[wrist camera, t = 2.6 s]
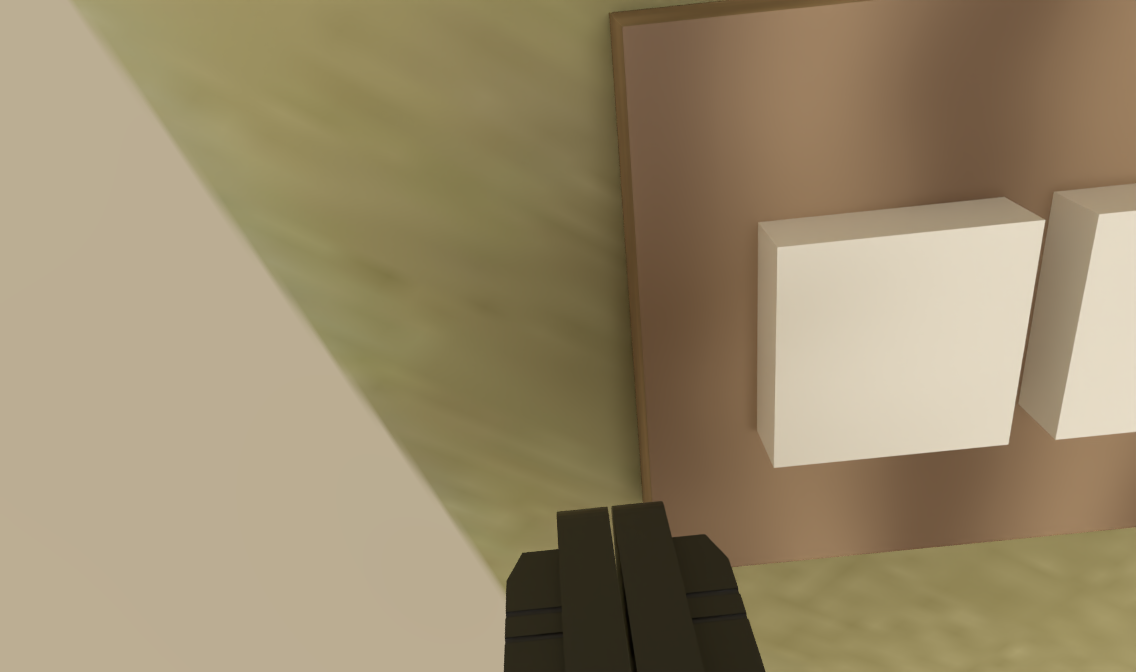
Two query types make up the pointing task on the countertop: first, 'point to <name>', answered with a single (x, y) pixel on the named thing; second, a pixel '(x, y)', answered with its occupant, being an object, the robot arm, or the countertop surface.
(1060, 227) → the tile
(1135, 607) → the countertop surface
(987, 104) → the wooden switch plate
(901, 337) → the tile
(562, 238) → the countertop surface
